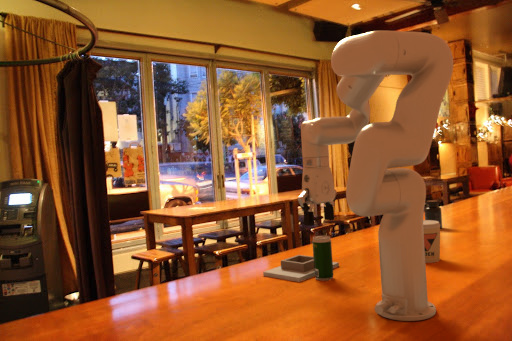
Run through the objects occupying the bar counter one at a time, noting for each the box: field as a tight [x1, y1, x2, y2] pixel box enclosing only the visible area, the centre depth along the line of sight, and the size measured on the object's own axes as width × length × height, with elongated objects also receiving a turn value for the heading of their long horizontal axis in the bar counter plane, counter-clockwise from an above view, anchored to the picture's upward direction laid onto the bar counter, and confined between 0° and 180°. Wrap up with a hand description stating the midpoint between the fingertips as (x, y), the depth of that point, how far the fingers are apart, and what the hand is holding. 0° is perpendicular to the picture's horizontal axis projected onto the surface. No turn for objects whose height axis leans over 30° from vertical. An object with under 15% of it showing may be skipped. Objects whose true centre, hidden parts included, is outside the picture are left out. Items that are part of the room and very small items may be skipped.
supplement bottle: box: [424, 199, 443, 230], centre depth 196 cm, size 7×7×12 cm
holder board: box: [262, 254, 340, 283], centre depth 141 cm, size 20×14×4 cm
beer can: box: [312, 235, 334, 282], centre depth 131 cm, size 5×5×12 cm
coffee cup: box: [423, 219, 441, 264], centre depth 143 cm, size 9×9×12 cm
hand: (319, 222), depth 131 cm, fingers open, 9 cm apart
